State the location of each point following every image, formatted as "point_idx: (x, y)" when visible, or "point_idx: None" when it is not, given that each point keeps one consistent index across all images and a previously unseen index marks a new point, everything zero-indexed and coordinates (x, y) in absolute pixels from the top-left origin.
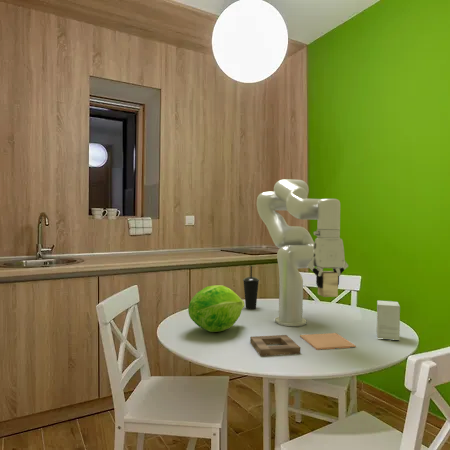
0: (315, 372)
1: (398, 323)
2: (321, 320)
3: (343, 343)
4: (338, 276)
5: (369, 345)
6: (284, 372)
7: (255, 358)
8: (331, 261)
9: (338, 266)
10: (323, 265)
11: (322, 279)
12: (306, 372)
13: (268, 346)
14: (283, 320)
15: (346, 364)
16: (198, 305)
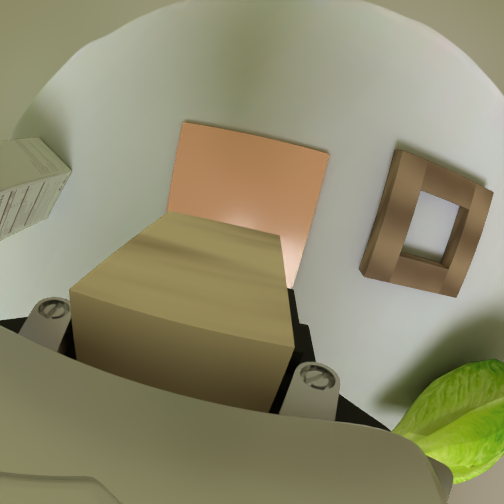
0: (426, 35)
1: (4, 141)
2: None
3: (207, 155)
4: (68, 309)
5: (129, 127)
6: (483, 79)
7: (497, 183)
8: (95, 496)
9: (3, 337)
10: (340, 453)
11: None
12: (444, 47)
13: (469, 204)
14: None
15: (318, 25)
16: None
